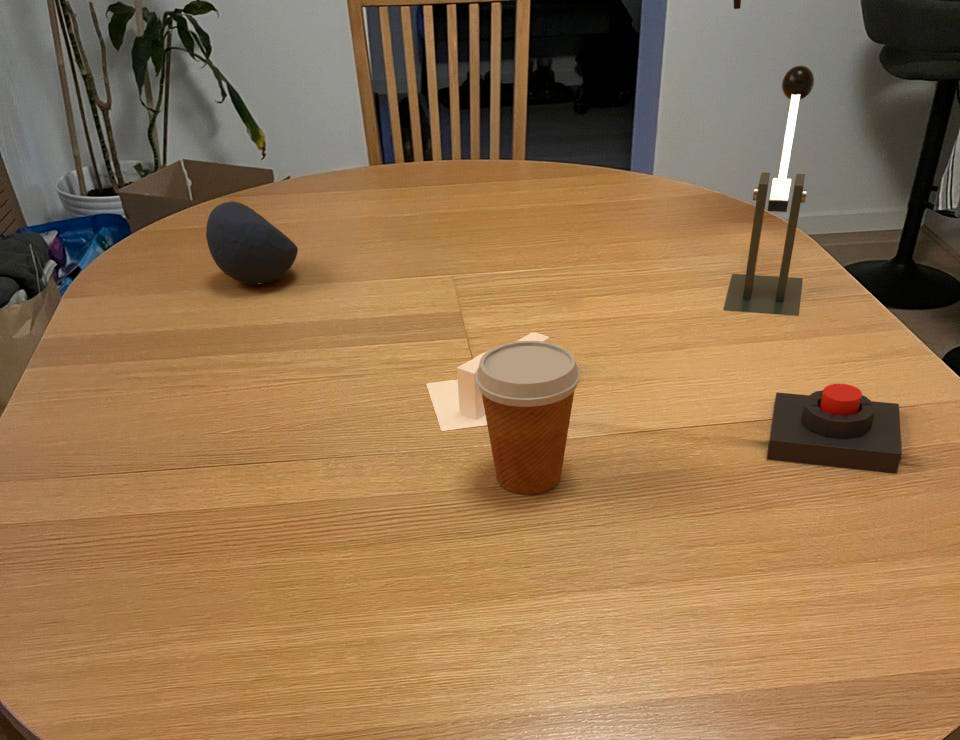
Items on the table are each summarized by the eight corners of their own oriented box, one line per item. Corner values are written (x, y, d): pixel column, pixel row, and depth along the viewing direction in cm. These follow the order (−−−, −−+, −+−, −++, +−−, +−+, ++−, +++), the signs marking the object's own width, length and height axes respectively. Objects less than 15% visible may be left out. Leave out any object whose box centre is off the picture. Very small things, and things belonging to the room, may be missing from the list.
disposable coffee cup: (464, 493, 92) (457, 377, 84) (500, 445, 98) (497, 332, 90) (559, 511, 89) (561, 393, 81) (590, 460, 95) (594, 345, 87)
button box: (893, 423, 98) (903, 386, 96) (896, 474, 91) (907, 436, 89) (772, 411, 101) (779, 375, 99) (766, 459, 94) (773, 423, 92)
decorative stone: (242, 305, 128) (226, 228, 121) (202, 281, 135) (184, 206, 129) (317, 281, 133) (306, 206, 127) (275, 259, 140) (261, 186, 134)
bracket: (730, 282, 127) (746, 162, 117) (801, 287, 125) (823, 165, 115) (721, 319, 119) (738, 193, 109) (797, 325, 116) (821, 197, 107)
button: (858, 401, 95) (862, 385, 94) (858, 419, 92) (862, 402, 91) (820, 398, 96) (823, 381, 94) (819, 415, 93) (822, 399, 92)
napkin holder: (552, 366, 111) (553, 318, 107) (579, 412, 103) (581, 362, 99) (424, 383, 109) (420, 335, 105) (441, 432, 101) (437, 381, 97)
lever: (783, 78, 116) (785, 58, 113) (814, 79, 116) (817, 58, 112) (761, 213, 115) (763, 197, 112) (792, 215, 114) (795, 198, 111)
